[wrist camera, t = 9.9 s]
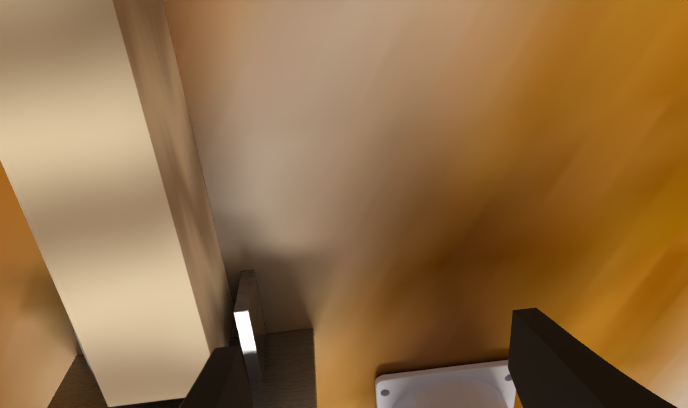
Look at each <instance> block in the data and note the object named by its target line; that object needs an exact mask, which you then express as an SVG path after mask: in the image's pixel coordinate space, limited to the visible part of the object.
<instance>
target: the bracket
mask: <svg viewBox="0 0 688 408" xmlns="http://www.w3.org/2000/svg"><path fill="white" fill-rule="evenodd" d="M234 316H235V320H236V325H237V329H238V333H239V337H238V338H230V344H229V346H234V345H239V347H240V351H241V355H242V359H243V363H244V367H245V371H246V375H247V379H248V383H249V387H250V391H251V395H252V399H253V408H317V391H316V368H315V344H314V332H313V329H307V330H298V331H290V332H281V333H272V334H266V329H265V324H264V319H263V314H262V309H261V303H260V298H259V293H258V288H257V283H256V278H255V272H254V270H250V271H241V276H240V282H239V287H238V292H237V298H236V303H235V309H234ZM74 334H75V336H76V338H77V340H78V343H79V345H80V347H81V350H82V352H83V354H84V355H82V356H76V358H75V359H74V361H73V363H72V365H71V366H70V368H69V370H68V372H67V373H66V375H65V377H64V379H63V381H62V382H61V384H60V386H59V388H58V389H57V391H56V393H55V395H54V397H53V398H52V400H51V402H50V404H49V405H48V407H47V408H179V406H180V405H181V403H182V402H183V400H184V399H185V398H177V399H169V400H161V401H153V402H145V403H137V404H129V405H121V406H113V407H108V405H107V403H106V401H105V398H104V396H103V394H102V391H101V389H100V387H99V385H98V382H97V380H96V378H95V375H94V373H93V371H92V369H91V366H90V364H89V362H88V359H87V357H86V355H85V352H84V350H83V348H82V346H81V343H80V341H79V339H78V336H77V334H76V332H75V330H74Z"/></svg>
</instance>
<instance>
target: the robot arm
mask: <svg viewBox="0 0 688 408" xmlns="http://www.w3.org/2000/svg"><path fill="white" fill-rule="evenodd" d="M385 389H386V390H385ZM383 390H384V391H383ZM516 391H517V393H518V396H519V398H520V401H521V403H522V406H523V407H524V408H677V407H676V406H674V405H672V404H670V403H669V402H667V401H665V400H664V399H662V398H660V397H659V396H657V395H656V394H654V393H652V392H651V391H649V390H648V389H646V388H645V387H643V386H642V385H640V384H639V383H637V382H636V381H634V380H633V379H631V378H630V377H628V376H627V375H625V374H624V373H622V372H621V371H619V370H618V369H616V368H615V367H614V366H612V365H611V364H609V363H608V362H607V361H605V360H604V359H602V358H601V357H600V356H598V355H597V354H596V353H594V352H593V351H592V350H590V349H589V348H588V347H586V346H585V345H584V344H582V343H581V342H580V341H578V340H577V339H576V338H574V337H573V336H572V335H571V334H569V333H568V332H567V331H565V330H564V329H563V328H562V327H560V326H559V325H558V324H556V323H555V322H554V321H553V320H551V319H550V318H549V317H547V316H546V315H545V314H544V313H542V312H541V311H540V310H538V309H537V308H529V309H521V310H513V316H512V327H511V337H510V348H509V359H508V360H502V361H494V362H486V363H478V364H469V365H461V366H453V367H444V368H436V369H428V370H420V371H411V372H403V373H395V374H386V375H381V376H379V377H377V379H376V380H375V393H376V408H514V402H515V394H516ZM179 408H253V399H252V395H251V391H250V387H249V383H248V379H247V375H246V371H245V367H244V363H243V359H242V355H241V351H240V347H239V345H234V346H227V347H219V348H215V349H214V350H213V351H212V353H211V354H210V356H209V358H208V360H207V362H206V363H205V365H204V367H203V369H202V370H201V372H200V374H199V376H198V377H197V379H196V381H195V382H194V384H193V386H192V387H191V389H190V391H189V392H188V394H187V395H186V397H185V399H184V400H183V402H182V403H181V405H180V406H179Z"/></svg>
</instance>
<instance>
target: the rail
mask: <svg viewBox="0 0 688 408" xmlns="http://www.w3.org/2000/svg"><path fill="white" fill-rule="evenodd" d="M0 160H1V162H2V165H3V167H4V169H5V172H6V174H7V176H8V178H9V181H10V183H11V185H12V188H13V190H14V192H15V194H16V197H17V199H18V201H19V204H20V206H21V208H22V211H23V213H24V215H25V217H26V220H27V222H28V224H29V227H30V229H31V231H32V233H33V236H34V238H35V240H36V243H37V245H38V247H39V249H40V252H41V254H42V256H43V259H44V261H45V263H46V265H47V268H48V270H49V272H50V275H51V277H52V279H53V281H54V284H55V286H56V288H57V291H58V293H59V295H60V298H61V300H62V302H63V304H64V307H65V309H66V311H67V314H68V316H69V318H70V320H71V323H72V325H73V327H74V330H75V332H76V334H77V336H78V339H79V341H80V343H81V346H82V348H83V350H84V352H85V355H86V357H87V359H88V362H89V364H90V366H91V369H92V371H93V373H94V375H95V378H96V380H97V382H98V385H99V387H100V389H101V391H102V394H103V396H104V398H105V401H106V403H107V405H108V407H113V406H121V405H129V404H137V403H145V402H153V401H161V400H169V399H177V398H185V397H186V395H187V394H188V392H189V391H190V389H191V387H192V386H193V384H194V382H195V381H196V379H197V377H198V376H199V374H200V372H201V370H202V369H203V367H204V365H205V363H206V362H207V360H208V358H209V356H210V354H211V353H212V351H213V350H214V349H215V348H219V347H227V346H229V344H230V338H231V333H232V327H233V322H234V307H233V302H232V298H231V294H230V289H229V285H228V281H227V276H226V272H225V268H224V264H223V259H222V255H221V251H220V246H219V242H218V238H217V233H216V229H215V225H214V220H213V216H212V212H211V207H210V203H209V199H208V194H207V190H206V186H205V181H204V177H203V173H202V168H201V164H200V160H199V156H198V151H197V147H196V143H195V138H194V134H193V130H192V125H191V121H190V117H189V112H188V108H187V104H186V99H185V95H184V91H183V86H182V82H181V78H180V73H179V69H178V65H177V60H176V56H175V52H174V47H173V43H172V39H171V35H170V30H169V26H168V22H167V17H166V13H165V9H164V4H163V0H0Z"/></svg>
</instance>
